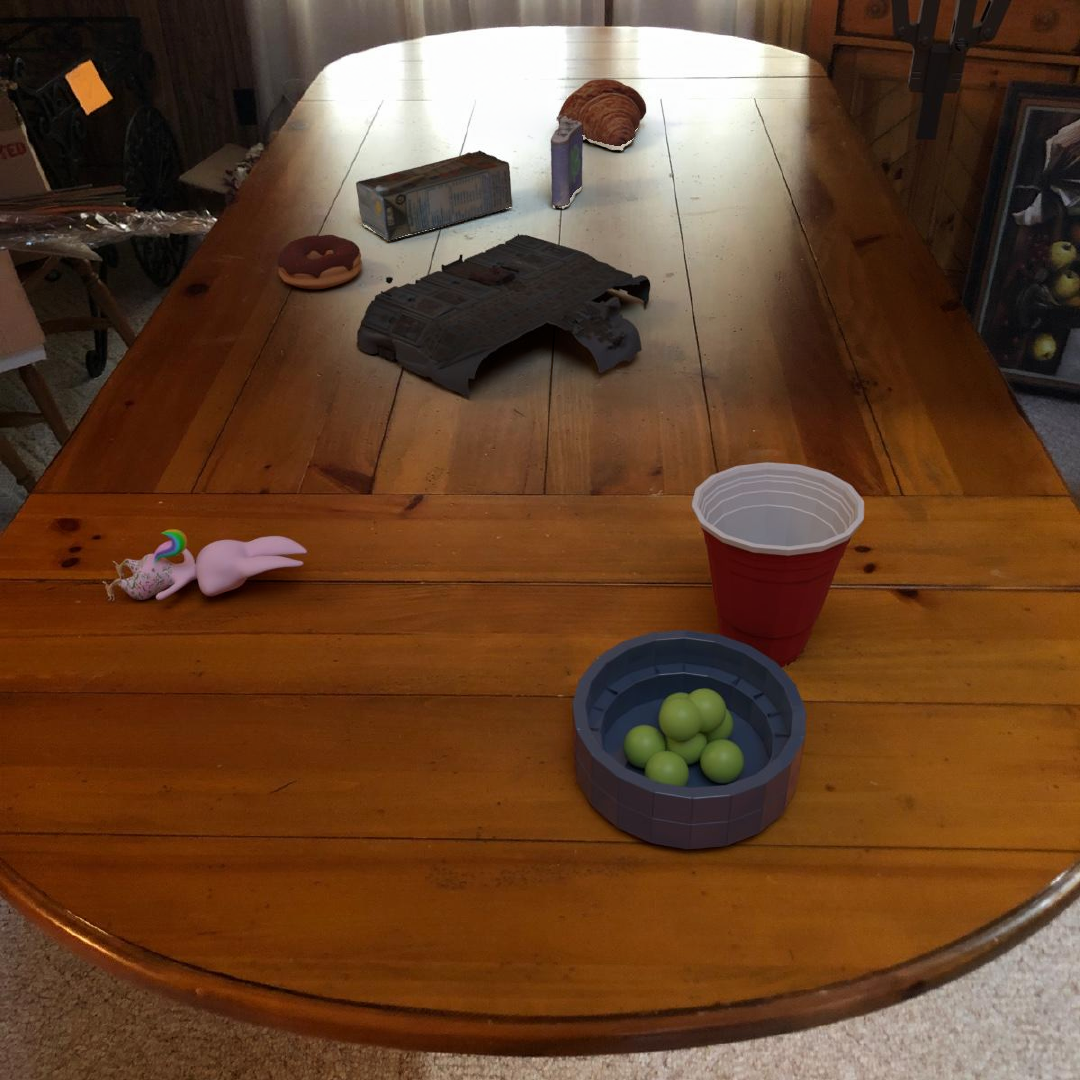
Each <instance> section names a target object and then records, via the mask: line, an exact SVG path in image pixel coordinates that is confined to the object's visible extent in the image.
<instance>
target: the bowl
mask: <svg viewBox="0 0 1080 1080" xmlns="http://www.w3.org/2000/svg"><path fill="white" fill-rule="evenodd" d="M698 689H710V690H713V691H715V692H716V693H718V694H719V695H720V696H721V697H722V699H723V700H724V702H725V705H726V709H727V710H728V711H729V712H730V714H731V716H732V718H733V731H732V733H731V735H730V737H729V738H728V739H727V740H729V741H731V742H733V743H735V744H736V745H737V746H738V747H739V748H740V750H741V751H742V753H743V756H744V767H743V770H742V773H741V774H740V776H739V777H738V778H737V779H735V780H734V781H732V782H729V783H717V782H714V781H712V780H710V779H709V778H708V777H707V776H706V775H705V774H704V772H703V771H702V768H701V764H700V760H699V761H698V762H696V763H694V764H690V765H687V766H688V770H689V778H688V781H687V784H686V786H685V787H683V786H677V785H671V784H665V783H658V782H656V781H654V780H651V779H649V778H647V777H645V768H639V767H636V766H634V765H633V764H631V763H630V762H629V761H628V760H627V758H626V756H625V754H624V750H623V742H624V739H625V737H626V735H627V733H628V732H629V731H630V730H631V729H633V728H634V727H636V726H640V725H649V726H652V727H654V728H656V729H657V730H659V731H660V732H661V734H662V735H663V737H664V739H665V734H664V733H663V731H662V730H661V728H660V725H659V713H660V709H661V706H662V703H663V702H664V700H665V699H666V698H667V697H668V696H670V695H672V694H674V693H687V694H690V693H692V692H693V691H695V690H698ZM571 704H572V705H571V706H572V707H571V708H572V709H571V711H572V712H571V714H572V757H573V762H574V763H573V764H574V771H575V776H576V781H577V782H578V784H579V786H580V789H582V791H583V793H584V794H585V796H586V798H587V801H589V804H590V805H591V806H592V807H593V808H594V809H595V810H596V811H597V812H598V813H599V814H601V815H602V816H603V817H604V818H605V819H607V820H608V822H610V823H611V824H612V825H613V826H615V827H616V828H617V829H619V830H621V831H623V832H625V833H628V834H630V835H633V836H635V837H637V838H639V839H641V840H643V841H646V842H648V843H651V844H654V845H660V846H665V847H670V848H671V847H672V848H678V849H683V850H696V849H697V850H698V849H708V848H719V847H726V846H730V845H732V844H736V843H738V842H741V841H743V840H745V839H748V838H750V837H754V836H756V835H758V834H760V833H762V831H764V829H766V828H768V826H770V825H771V824H772V823H773V822H775V820H777V819H778V818H779V817H780V816H781V815H783V814H784V812H785V811H786V808H787V807H788V805H789V803H790V801H791V799H792V797H793V796H794V793H795V791H796V790H797V787H798V782H799V776H800V770H801V765H802V759H803V751H804V746H805V741H806V730H807V729H806V728H807V727H806V726H807V710H806V707H805V704H804V702H803V699H802V697H801V694H800V691H799V689H798V686H797V684H796V683H795V682H794V680H793V679H792V678H791V677H790V675H788V674H787V673H786V672H785V671H784V669H783V668H782V666H781V667H780V666H779V665H778V664H777V663H776V662H775V661H773V660H771V659H770V658H768V657H767V656H765V655H764V654H762V653H761V652H759V651H758V650H756V649H755V648H753V647H751V646H749V645H747V644H744V643H741V642H739V641H736V640H733V639H730V638H727V637H725V636H722V635H720V634H716V633H710V632H702V631H694V630H687V629H678V630H667V631H666V630H665V631H654V632H648V633H644V634H642V635H639V636H635V637H632V638H629V639H626V640H622V641H621V642H619V643H618V644H615V645H614V646H613V647H611V648H609V649H608V650H607V651H605V652H603V653H602V654H600V655H598V656H597V657H596V658H595V659H594V661H592V662H591V664H590V665H589V666H588V668H587V669H586V670H585V671H584V672H583V674H582V675H581V676H580V678H579V679H578V683H577V686H576V689H575V693H574V696H573V700H572V702H571Z"/></svg>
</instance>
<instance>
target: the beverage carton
mask: <svg viewBox="0 0 1080 1080" xmlns="http://www.w3.org/2000/svg"><path fill="white" fill-rule="evenodd" d="M510 170H511V169H510V163H509V162H508V161H506V160H501V159H499V158H498V157H496V156H494V155H491V154H488V153H486V152H484V151H482V150H480V149H479V150H477V151H474V152H466V153H465V154H461V155H458V156H454V157H451V158H446V159H443V160H439V161H435V162H431V163H428V164H424V165H421V166H417V167H416V166H415V167H412V168H408V169H403V170H400V171H396V172H391V173H388V174H385V175H380V176H377V177H371V178H365V179H363V180H357V181H356V183H355V187H356V188H355V189H356V195H357V200H358V201H357V202H358V209H359V216H360V220H361V224H362V223H363V224H364V225H367V226H368V227H370V228H371V229H372V230H373V231H375V232H376V233H377V234H379V235H381V236H382V237H383V238H385V239H386V240H393V239H396V238H399V237H402V236H405V235H408V234H415V233H418V232H422V231H425V230H430V229H433V228H438V227H441V226H445V225H448V226H451V225H450V224H452V225H455V224H459V223H462V222H465V221H468V219H469V220H472V219H475V218H474V217H476V218H479V217H483V216H485V215H486V214H487V215H490V214H493V212H494V213H497V211H498V212H501V211H500V210H502V211H504V210H503V209H505V210H507V209H506V208H509V207H512V208H513V197H512V184H511V183H512V182H511V171H510ZM509 209H510V208H509ZM471 218H472V219H471ZM464 220H465V221H464ZM461 221H462V222H461ZM458 222H459V223H458ZM454 223H455V224H454ZM445 227H446V226H445ZM441 228H442V227H441ZM438 229H439V228H438ZM433 230H434V229H433ZM415 235H416V234H415ZM383 238H382V239H383ZM385 239H384V240H385ZM386 240H385V241H386ZM396 240H397V239H396ZM393 241H394V240H393Z"/></svg>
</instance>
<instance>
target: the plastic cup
mask: <svg viewBox="0 0 1080 1080" xmlns="http://www.w3.org/2000/svg"><path fill="white" fill-rule="evenodd" d="M693 494H694V495H693V497H692V502H691V509H692V511H693V513H694V515H695V517H696V520H697V522H698V523H699V526H700V527H701V531H702V532H703V538H704V543H705V545H706V550H707V557H708V565H709V573H710V574H709V575H710V580H711V581H710V582H711V589H712V596H713V603H714V606H715V608H716V616H717V617H716V618H717V626H718V633H719V635H722V636H725V637H727V638H730V639H733V640H736V641H739V642H741V643H744V644H747V645H749V646H751V647H753V648H755V649H756V650H758V651H759V652H761V653H762V654H764V655H765V656H767V657H768V658H770V659H771V660H773V661H775V662H776V663H777V664H778V665H779V666H780V667H781V668H782V667H784V666H786V665H789V664H791V663H792V662H795V661H796V660H797V658H799V656H800V655H801V653H802V652H803V650H804V649H805V647H806V646H807V644H808V643H809V639H810V637H811V634H812V632H813V629H814V626H815V623H816V621H817V620H818V619H819V617H820V614H821V612H822V609H823V607H824V604H825V602H826V598H827V596H828V594H829V591H830V589H831V585H832V582H833V581H834V578H835V575H836V572H837V569H838V568H839V565H840V563H841V560H842V558H843V557H844V555H845V552H846V549H847V546H848V545H849V544H850V542H851V540H852V536H853V535H854V534H855V532H857V530H858V529H859V528H860V527H861V526H862V524H863V522H864V520H865V501H864V500H863V498H862V496H860V494H859V493H858V491H856V489H855V488H854V487H853V486H852V484H850V483H848V482H846V481H844V480H842V478H839V477H838V476H835V475H834V474H832V473H830V472H828V471H825V470H821V469H817V468H812V467H810V466H805V465H803V464H797V463H795V464H794V463H783V462H767V461H765V462H759V463H750V464H749V463H748V464H742V465H735V466H733V467H730V468H727V469H725V470H722V471H719V472H716V473H714V474H711V475H710V476H708V478H707V479H705V480H704V481H703V482H702V483H701V484H700V485H698V486H697V487H696V488H695V490H694V493H693Z"/></svg>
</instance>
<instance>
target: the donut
mask: <svg viewBox="0 0 1080 1080" xmlns="http://www.w3.org/2000/svg"><path fill="white" fill-rule="evenodd" d="M276 263H277V267H279V268H278V275H279V277H280V278H281V279H282V281H283V282H285V283H286V284H288V285H290V286H293V287H296V288H299V289H306V290H323V289H328V288H332V287H335V286H338V285H342V284H344V283H347V282H349V281H351V280H352V279H353V278H354V277H356V276H357V275H358V274H359V272H360V271H361V269H362V266H363V262H362V254H361V249H360V246H358V245H357V244H356V242H354V241H352V240H350V239H347V238H344V237H339V236H337V235H335V234H324V235H315V234H314V235H307V236H304V237H301V238H297V239H293V240H291V241H289V242H288V243H287V244H286V245H285V246H284V247H283V249H281V250H280V252H279V254H278V257H277V261H276Z"/></svg>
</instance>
